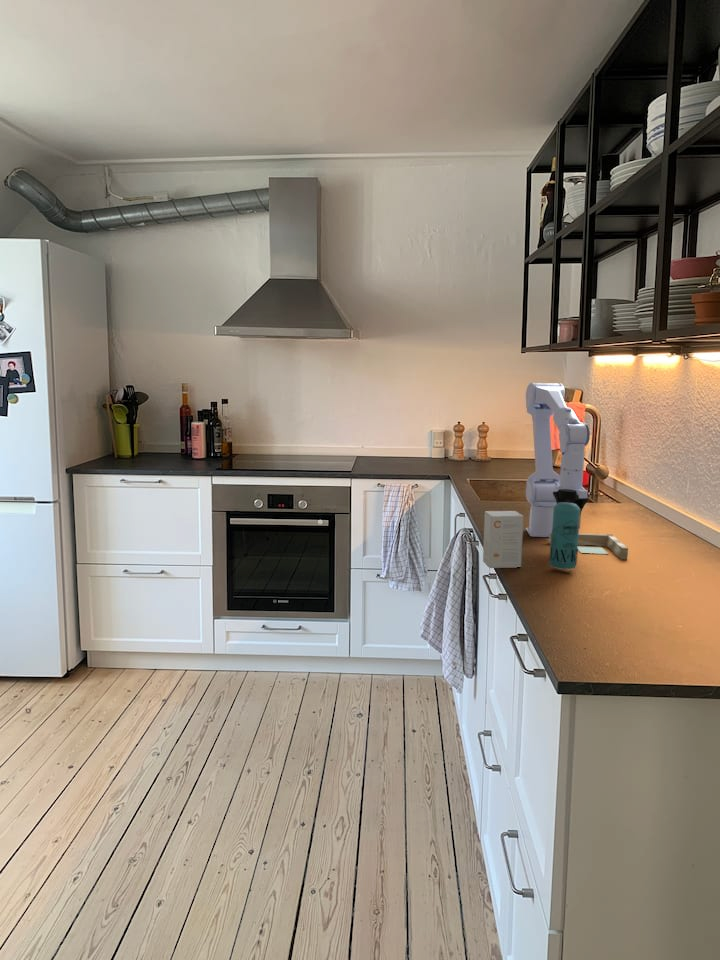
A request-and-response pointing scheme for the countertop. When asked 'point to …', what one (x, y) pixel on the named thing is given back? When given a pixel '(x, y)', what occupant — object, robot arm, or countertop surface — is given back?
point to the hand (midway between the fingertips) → (568, 520)
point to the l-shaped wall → (602, 543)
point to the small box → (503, 539)
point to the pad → (591, 550)
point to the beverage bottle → (565, 532)
